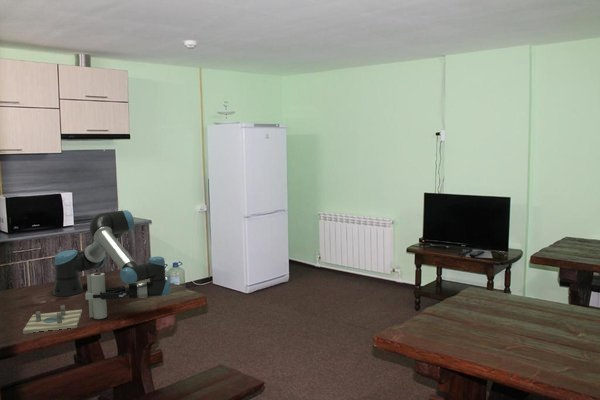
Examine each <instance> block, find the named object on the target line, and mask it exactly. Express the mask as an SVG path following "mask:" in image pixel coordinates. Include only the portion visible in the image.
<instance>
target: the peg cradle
mask: <svg viewBox="0 0 600 400" xmlns="http://www.w3.org/2000/svg"><path fill="white" fill-rule="evenodd" d="M82 313H83V309H74V310H66V305H65V304H61V305H60V311H55V312H54V311H53V312H47V313H41V311H40V310H36V311H35V314H32V315H31V317H30V319H28V322H27V323H26V325H25V327H24V328H23V329H22V334H23V335H25V334H33V332H36V333H40V332H39V331H44V332H49V331H48V330H53V331H58V330H59V329H62V330H67V328H71V329H77V328H78V326H79V323H80V320H81V318H82V317H81V316H82Z"/></svg>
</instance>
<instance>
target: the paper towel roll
mask: <svg viewBox="0 0 600 400" xmlns="http://www.w3.org/2000/svg"><path fill="white" fill-rule="evenodd" d="M105 275H106V274H105V273H104V272H95V273H89V274H86V282H87V291H88V294H89V293H95V295H100V292H102V293H105V292H106V290H105V288H106V279H105V277H106V276H105ZM91 291H92V292H91ZM107 306H108V305H107V299H104V300H102V299H101V298H95V299H89V300H88V312H89V318H93V319H95V320H102V319H105V318H108V310H107Z"/></svg>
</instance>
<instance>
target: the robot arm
mask: <svg viewBox="0 0 600 400" xmlns="http://www.w3.org/2000/svg"><path fill="white" fill-rule="evenodd" d="M134 228H135V219H134V216H133V214H132V213H131V212H130V211H129V210H128V209H127V210H126V209H125V210H123V209H122V210H116V211H108V212H102V213H101V212H100V213H98V214H96V215H95V216H94V217H93V218H92V219H91V221H90V224H89V233H90V235H91V237H92V239H93V242H92V244H89V245H87V246H85V248H84V250H80V251H77V250H76V249H67V250H63V251H60V252H57V253H56V254H55V256H54V268H55V269H54V270H55V283H54V287H53V296H55V297H71V296H75V295H79V294H82V293H83V291H84V287H83V284H82V282H81V280H80V275H79V273H82V272H86V271H91V270H97V269H100V268H102V267H103V266H104V265H105V264H106V262H107V255H106V253H107V254H108V256H109V257H110V258H111V260H112V261H113V262H114V264H115V265H116V266H117V267H118V269H119V270H120V271H119V277H120V280H121V282H122V283H123V284H127V285H128V287H125V286H124V285H120V286H114V287H113V286H112V287H105V290H106V292H105V293H102V292H100V295H95V293H89V294H88V290H87V291H86V292H85V295H84V296H85V300H86V301H87V300H88V301H89V299H95V298H101V299H102V300H104V299H106V300H114V299H115V300H116V299H124V298H125V297H129V299H130V300H132V299H133V300H134V299H138V298H139V299H141V298H143V299H144V300H145V299H146V298H153V297H163V296H169V295H170V294H171V283H170V282H171V281H170V280H169V279H166V262H165V261H166V260H165V257H163V256H152V257H149V259H148V262H147V263H142V264H138V263H137V262H136V261H135V259H133V257H132V256H131V255H130V254H129V252H128V251H127V250H126V249H125V248H124V247H123V245H122V244H121V243H120V241H119V240H118V239H120V238H122V237H123V236H124V234H125V233H129V232H132V231H134ZM148 279H149V281H145V280H148ZM142 281H143V282H142ZM91 292H92V291H91Z"/></svg>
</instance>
